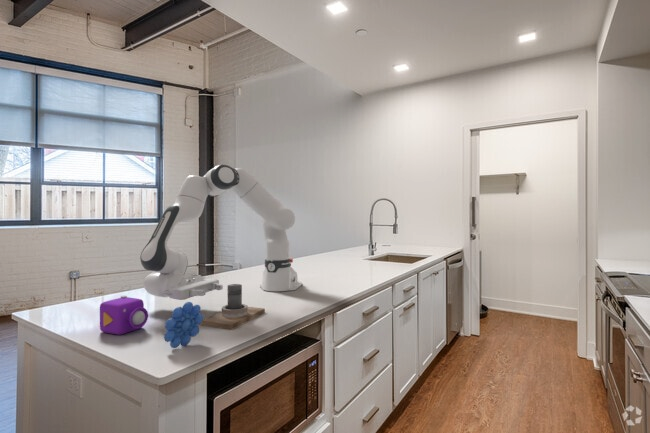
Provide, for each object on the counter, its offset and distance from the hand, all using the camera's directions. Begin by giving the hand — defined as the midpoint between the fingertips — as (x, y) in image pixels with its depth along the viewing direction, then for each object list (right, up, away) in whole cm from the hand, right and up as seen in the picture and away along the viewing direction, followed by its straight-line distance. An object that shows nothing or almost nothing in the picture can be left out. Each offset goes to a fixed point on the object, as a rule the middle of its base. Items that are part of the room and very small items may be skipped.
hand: (213, 290), depth 129 cm
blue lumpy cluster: (0, -10, -28) cm, 29 cm away
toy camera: (-22, -10, -16) cm, 29 cm away
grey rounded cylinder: (+8, -8, -3) cm, 12 cm away
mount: (+8, -9, -3) cm, 13 cm away
